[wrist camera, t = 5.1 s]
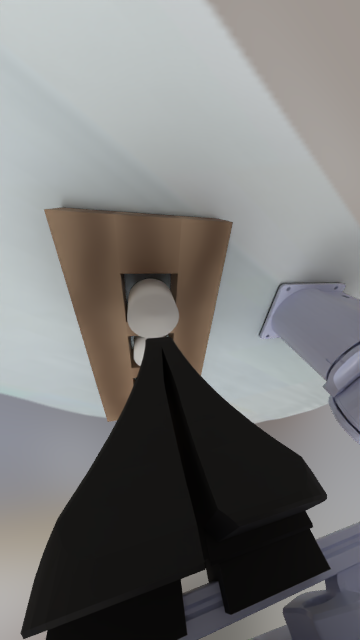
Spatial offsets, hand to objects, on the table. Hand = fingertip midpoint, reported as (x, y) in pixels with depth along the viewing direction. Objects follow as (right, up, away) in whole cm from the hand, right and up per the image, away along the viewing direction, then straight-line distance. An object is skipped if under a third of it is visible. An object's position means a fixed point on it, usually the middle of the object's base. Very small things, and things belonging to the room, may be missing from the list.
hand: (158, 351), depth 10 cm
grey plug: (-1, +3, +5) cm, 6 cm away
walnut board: (-2, 0, +11) cm, 11 cm away
